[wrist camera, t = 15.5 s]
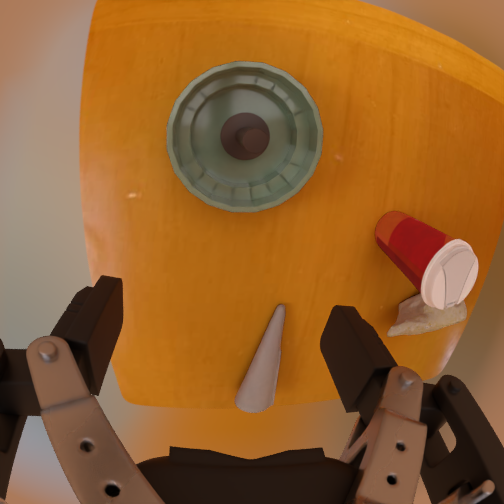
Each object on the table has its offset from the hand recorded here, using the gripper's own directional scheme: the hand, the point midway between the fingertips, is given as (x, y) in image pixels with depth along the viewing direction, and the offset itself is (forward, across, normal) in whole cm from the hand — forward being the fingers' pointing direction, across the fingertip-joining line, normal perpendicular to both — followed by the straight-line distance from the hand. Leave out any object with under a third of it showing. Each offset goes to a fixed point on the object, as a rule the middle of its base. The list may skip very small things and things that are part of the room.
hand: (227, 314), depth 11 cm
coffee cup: (+26, -25, +2) cm, 36 cm away
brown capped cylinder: (+26, -2, -6) cm, 26 cm away
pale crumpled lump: (+26, -35, +15) cm, 46 cm away
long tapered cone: (+26, -10, +26) cm, 38 cm away
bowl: (+26, -1, -6) cm, 27 cm away
